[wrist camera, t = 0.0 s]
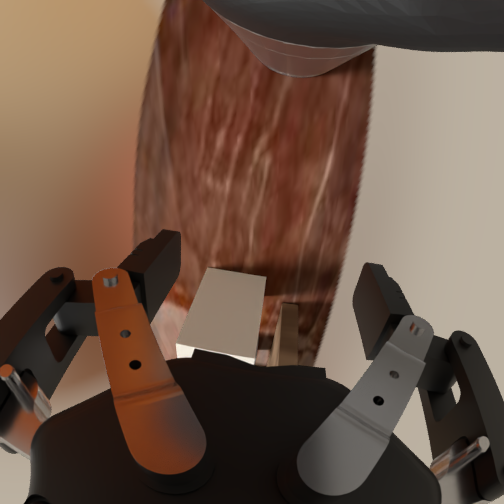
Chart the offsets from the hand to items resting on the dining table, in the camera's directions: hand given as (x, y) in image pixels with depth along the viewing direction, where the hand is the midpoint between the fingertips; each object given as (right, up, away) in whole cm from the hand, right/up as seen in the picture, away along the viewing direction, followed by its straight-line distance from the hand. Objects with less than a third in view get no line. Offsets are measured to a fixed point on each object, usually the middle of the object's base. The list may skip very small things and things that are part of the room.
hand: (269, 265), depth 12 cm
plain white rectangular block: (-3, -3, +23) cm, 23 cm away
